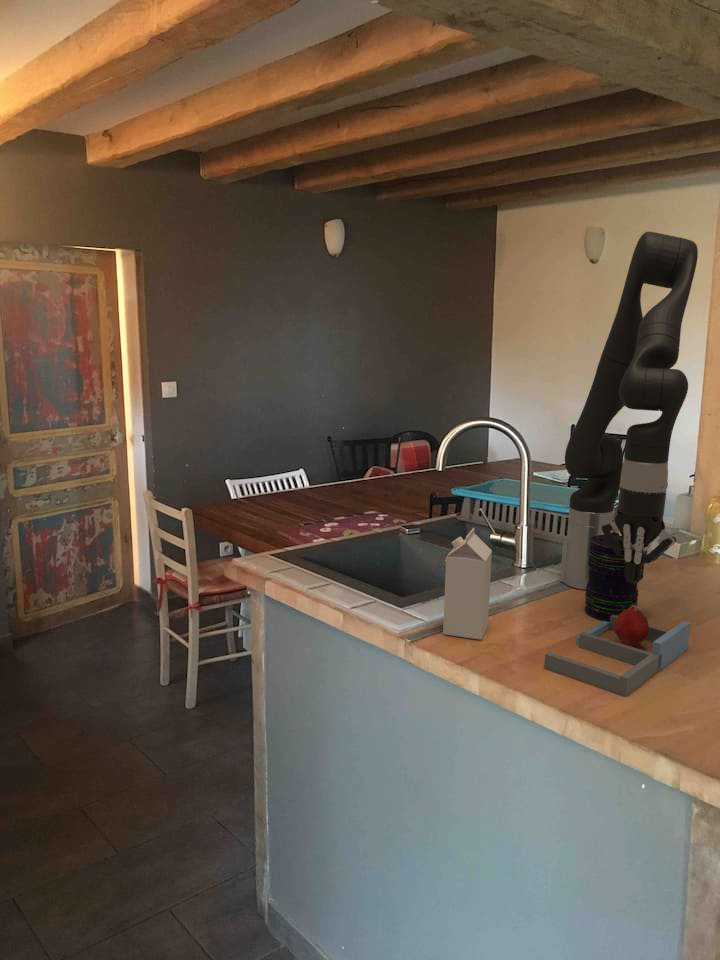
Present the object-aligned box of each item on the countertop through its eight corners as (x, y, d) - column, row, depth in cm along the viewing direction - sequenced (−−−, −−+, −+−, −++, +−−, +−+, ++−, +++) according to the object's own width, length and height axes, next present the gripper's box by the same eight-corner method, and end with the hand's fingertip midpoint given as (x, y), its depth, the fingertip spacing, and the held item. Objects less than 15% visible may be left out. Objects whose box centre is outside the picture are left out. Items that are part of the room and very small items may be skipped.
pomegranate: (607, 640, 140) (611, 598, 138) (638, 640, 140) (642, 598, 139) (620, 654, 134) (624, 610, 133) (652, 653, 135) (656, 610, 133)
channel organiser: (537, 665, 129) (539, 637, 128) (606, 625, 147) (608, 600, 146) (625, 696, 119) (628, 666, 118) (687, 649, 137) (690, 622, 136)
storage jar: (639, 610, 155) (646, 539, 152) (631, 626, 147) (638, 551, 144) (589, 601, 160) (595, 531, 157) (578, 616, 151) (584, 543, 148)
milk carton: (488, 626, 145) (493, 529, 141) (481, 640, 139) (486, 539, 135) (451, 621, 148) (455, 525, 144) (442, 635, 141) (446, 535, 137)
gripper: (596, 482, 133) (587, 577, 137) (672, 496, 124) (661, 597, 128) (616, 476, 138) (607, 568, 142) (690, 489, 129) (679, 587, 133)
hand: (633, 582), depth 135 cm, fingers closed
